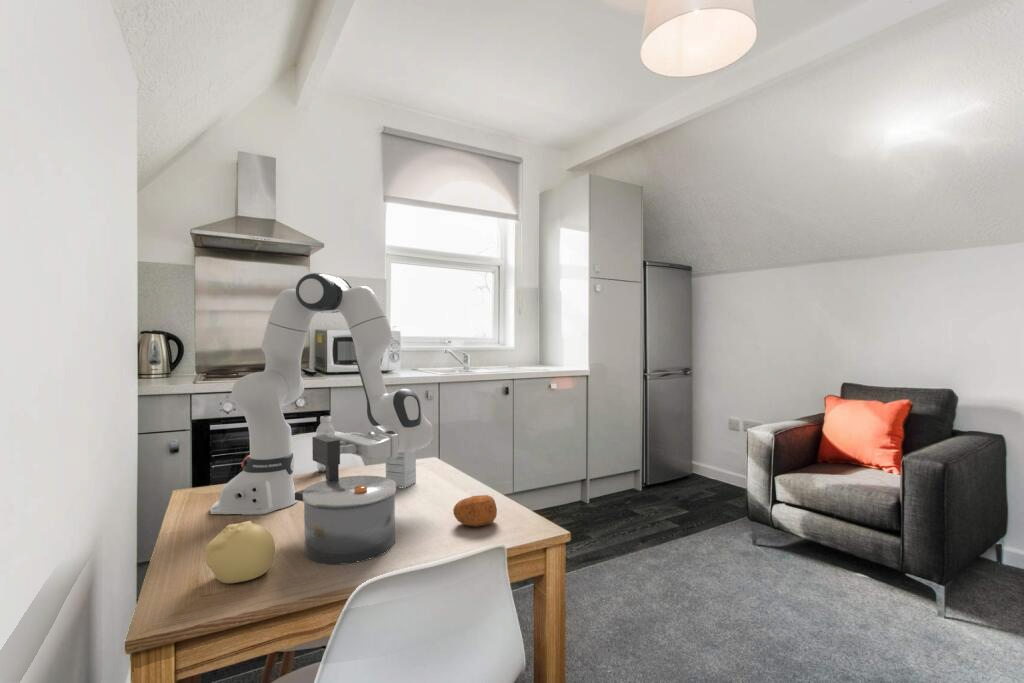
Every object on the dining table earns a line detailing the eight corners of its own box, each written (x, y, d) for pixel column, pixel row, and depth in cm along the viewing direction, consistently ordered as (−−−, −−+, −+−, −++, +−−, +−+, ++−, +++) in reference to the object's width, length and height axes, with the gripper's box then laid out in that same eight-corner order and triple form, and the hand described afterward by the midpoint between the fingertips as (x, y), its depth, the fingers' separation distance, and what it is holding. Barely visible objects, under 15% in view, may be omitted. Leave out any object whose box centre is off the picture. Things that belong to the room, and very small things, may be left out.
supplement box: (397, 480, 169) (397, 443, 169) (416, 482, 166) (416, 445, 166) (385, 486, 162) (384, 448, 162) (404, 489, 159) (404, 449, 159)
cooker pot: (412, 537, 120) (412, 487, 120) (351, 571, 102) (350, 513, 102) (331, 519, 132) (331, 474, 132) (264, 547, 114) (263, 495, 114)
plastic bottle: (329, 473, 178) (329, 418, 178) (312, 472, 179) (312, 417, 179) (339, 469, 184) (338, 415, 184) (322, 468, 186) (322, 414, 186)
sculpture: (228, 564, 106) (227, 513, 106) (284, 563, 107) (283, 513, 107) (194, 591, 95) (194, 534, 95) (258, 590, 95) (257, 533, 95)
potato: (497, 531, 124) (496, 501, 123) (451, 532, 123) (451, 502, 123) (496, 518, 133) (496, 490, 133) (454, 519, 132) (454, 491, 132)
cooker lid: (412, 492, 115) (412, 446, 115) (325, 514, 101) (325, 461, 101) (356, 470, 136) (355, 430, 136) (277, 485, 122) (276, 441, 122)
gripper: (361, 425, 144) (314, 432, 134) (400, 435, 129) (351, 443, 120) (361, 447, 144) (314, 455, 134) (401, 459, 130) (351, 469, 120)
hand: (332, 449), depth 127 cm, fingers closed
